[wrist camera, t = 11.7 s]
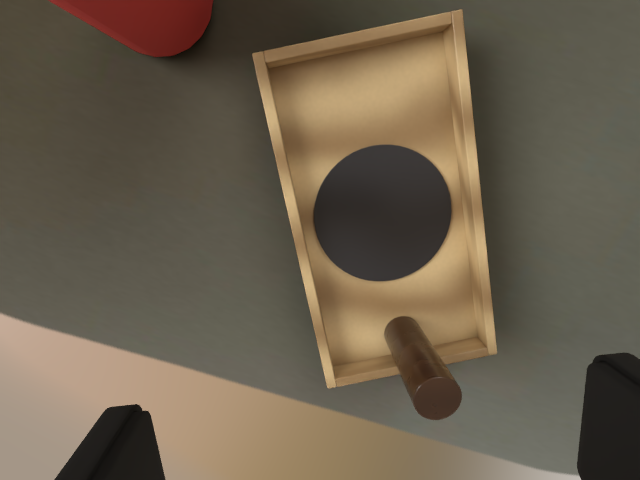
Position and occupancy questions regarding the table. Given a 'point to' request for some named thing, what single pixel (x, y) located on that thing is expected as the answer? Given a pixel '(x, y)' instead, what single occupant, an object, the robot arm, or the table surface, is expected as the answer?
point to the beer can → (145, 22)
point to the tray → (385, 201)
